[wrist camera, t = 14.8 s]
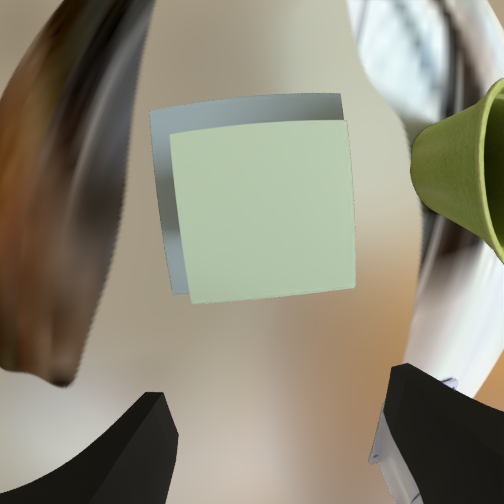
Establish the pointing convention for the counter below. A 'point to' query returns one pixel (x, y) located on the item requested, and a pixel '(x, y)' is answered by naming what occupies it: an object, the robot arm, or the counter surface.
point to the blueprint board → (213, 117)
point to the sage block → (265, 209)
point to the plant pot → (466, 168)
